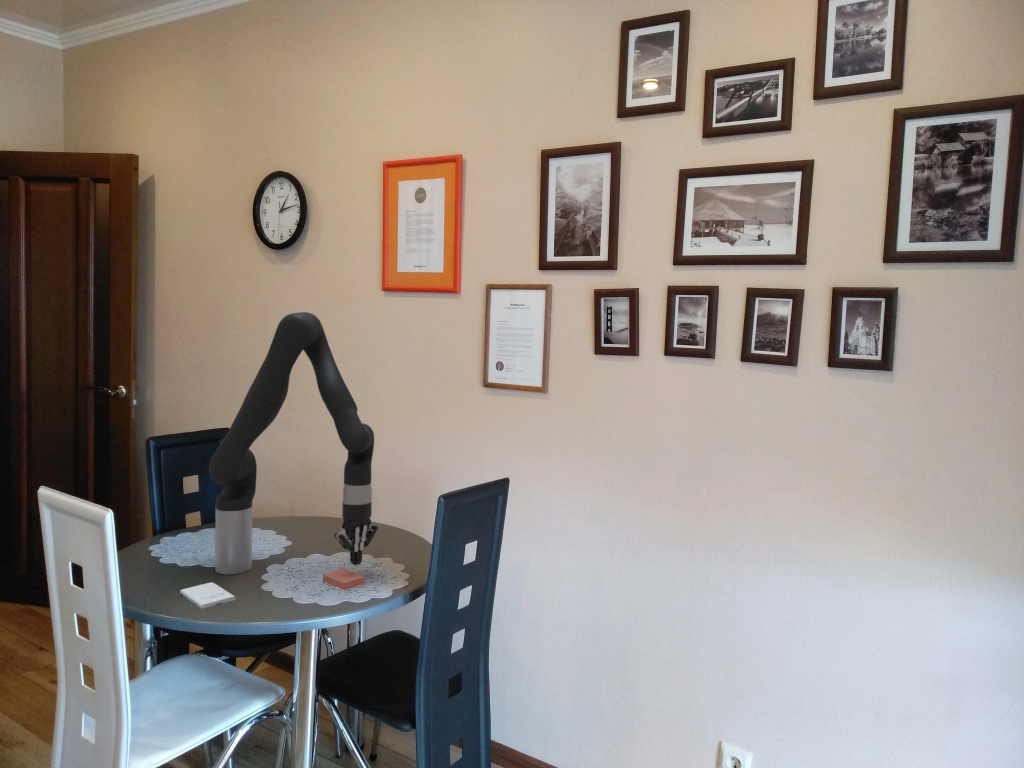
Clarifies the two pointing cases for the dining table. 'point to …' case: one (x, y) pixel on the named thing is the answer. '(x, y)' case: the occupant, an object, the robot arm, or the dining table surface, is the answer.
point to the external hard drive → (207, 595)
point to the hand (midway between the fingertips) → (355, 564)
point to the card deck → (343, 579)
